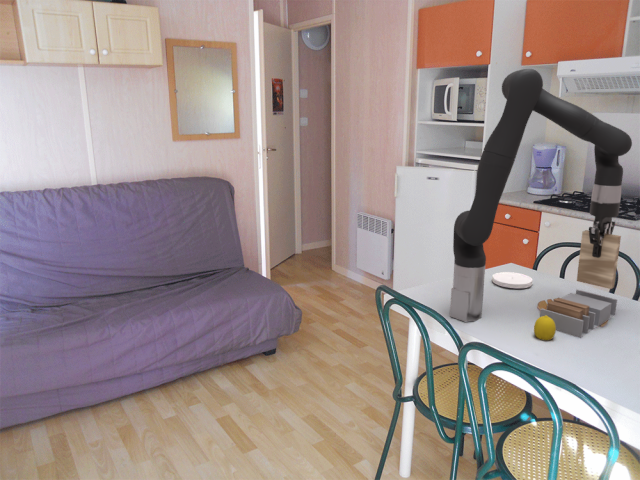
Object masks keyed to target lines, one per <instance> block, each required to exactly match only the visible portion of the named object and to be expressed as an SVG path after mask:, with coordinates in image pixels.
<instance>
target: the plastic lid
mask: <svg viewBox="0 0 640 480" xmlns="http://www.w3.org/2000/svg"><path fill="white" fill-rule="evenodd" d="M491 282H493V284H495V285H496V286H497V285H498V286H500V287H503V288H509V289H526V288H530V287H532V286H533V278H532V277H531V276H529V275H526V274H523V273H521V272H520V273H519V272H513V271H502V272H501V271H500V272H496V273H493V274H492V278H491Z"/></svg>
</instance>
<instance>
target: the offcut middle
mask: <svg viewBox="0 0 640 480" xmlns="http://www.w3.org/2000/svg"><path fill="white" fill-rule="evenodd" d="M561 298H562V297H557V298H555V299H553V301H554V302H558V303H561V304H565V305H569V306H572V307H576V308H579V309H583V315H585V316H588V314H589V306H587V305H584V304H580V303H576V302H573V301H569V300H565V299H561Z"/></svg>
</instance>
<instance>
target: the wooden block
mask: <svg viewBox="0 0 640 480" xmlns="http://www.w3.org/2000/svg"><path fill="white" fill-rule="evenodd" d="M600 235H603V234H600ZM621 237H622V235H619V234H618V235H617V234H613V233H612V234H606V236H605V238H604V239H603V244H602V250H601V257H599V258H597V257H593V256H592V253H593V244H591V243H590V237H589V229H588V230H587V229H586V230H583V231H582V233H581V241H580V250H579V258H578V259H579V260H578V267H577V275H576V282H579V283H583V284H587V285H592V286H596V287H601V288H604V289H608V290H612V289H613V288H615V282H616V275H617V267H618V261H619V253H620V246H621V240H622V239H621Z"/></svg>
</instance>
